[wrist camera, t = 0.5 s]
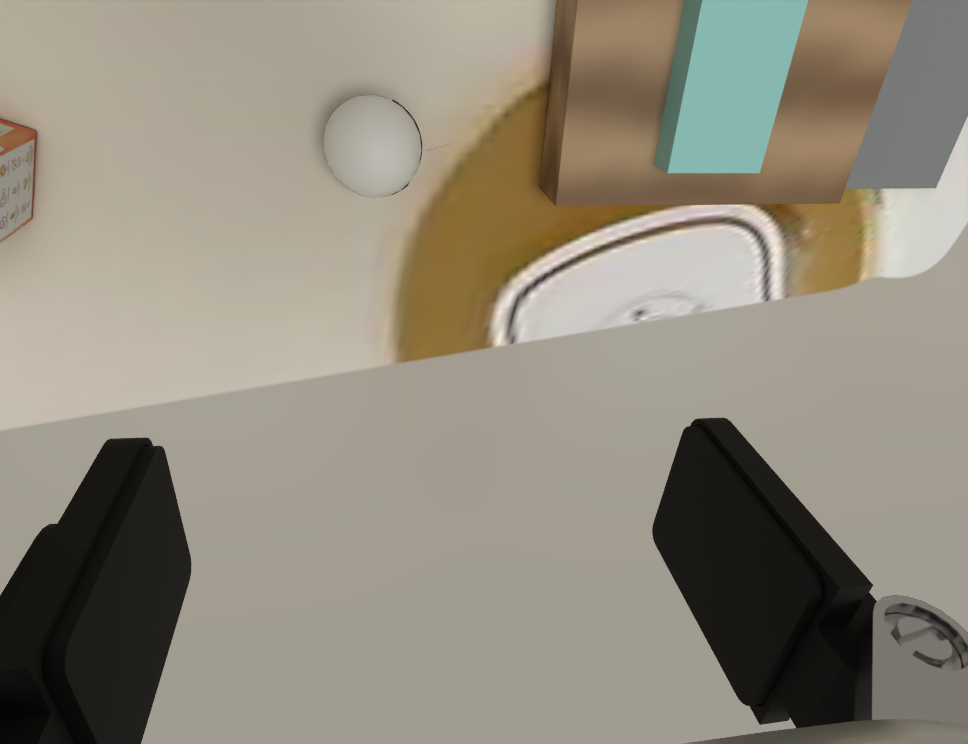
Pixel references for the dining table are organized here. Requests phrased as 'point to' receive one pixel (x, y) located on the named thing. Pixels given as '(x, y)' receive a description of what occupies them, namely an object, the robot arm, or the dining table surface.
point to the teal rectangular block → (726, 84)
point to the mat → (918, 101)
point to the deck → (643, 90)
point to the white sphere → (373, 145)
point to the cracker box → (16, 177)
